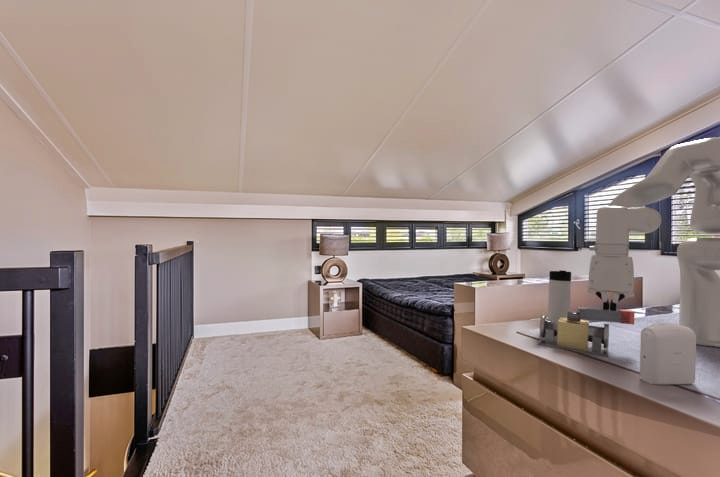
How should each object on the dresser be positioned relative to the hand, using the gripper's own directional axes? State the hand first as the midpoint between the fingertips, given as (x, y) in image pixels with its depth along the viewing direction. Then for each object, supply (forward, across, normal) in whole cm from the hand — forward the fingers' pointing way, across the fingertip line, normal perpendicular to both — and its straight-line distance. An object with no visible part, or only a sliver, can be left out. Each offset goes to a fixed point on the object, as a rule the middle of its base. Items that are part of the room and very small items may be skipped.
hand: (609, 316), depth 97 cm
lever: (+1, -2, -4) cm, 5 cm away
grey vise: (+9, -8, -6) cm, 13 cm away
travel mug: (+9, -13, +10) cm, 19 cm away
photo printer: (+9, +10, -22) cm, 26 cm away
